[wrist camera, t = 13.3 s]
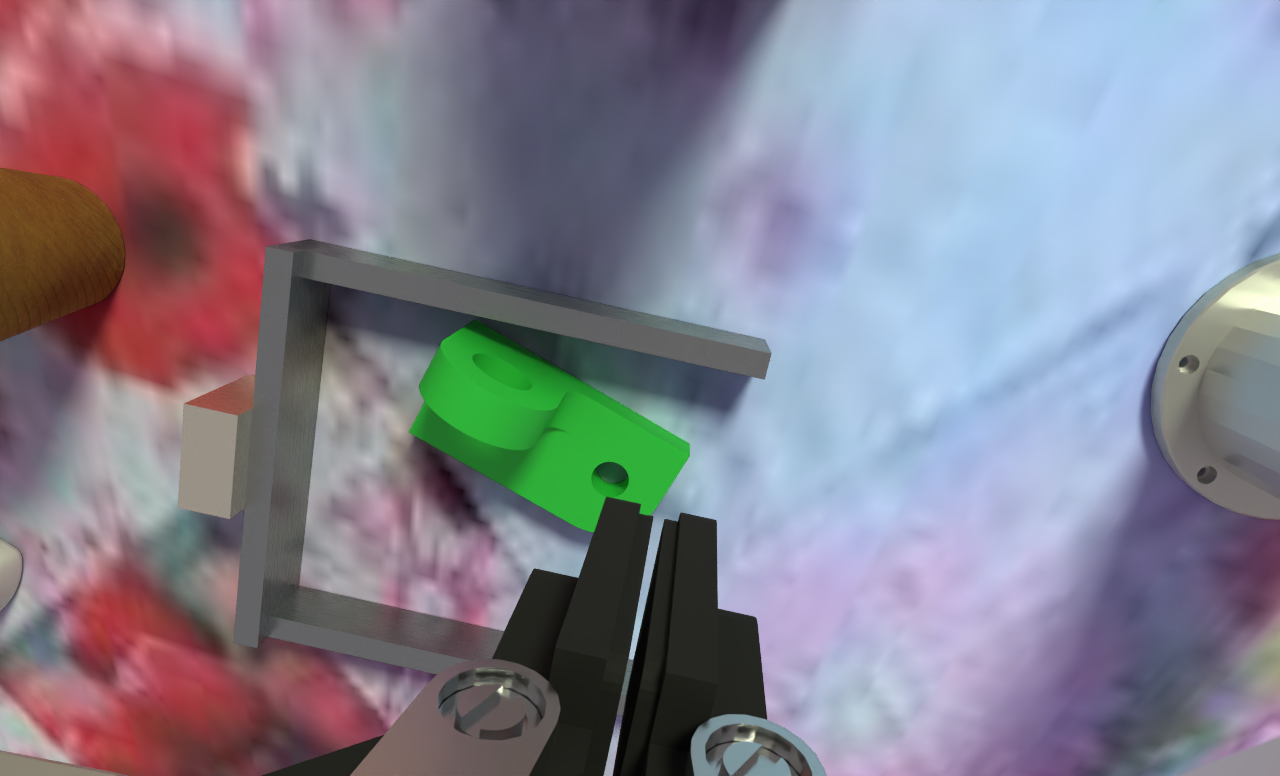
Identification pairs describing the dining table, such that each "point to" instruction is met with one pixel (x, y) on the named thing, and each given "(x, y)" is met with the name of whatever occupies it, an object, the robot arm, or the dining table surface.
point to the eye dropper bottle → (9, 572)
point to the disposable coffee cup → (53, 250)
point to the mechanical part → (540, 428)
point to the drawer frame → (285, 429)
